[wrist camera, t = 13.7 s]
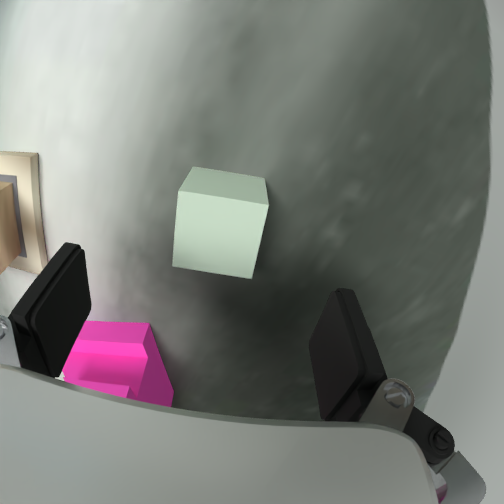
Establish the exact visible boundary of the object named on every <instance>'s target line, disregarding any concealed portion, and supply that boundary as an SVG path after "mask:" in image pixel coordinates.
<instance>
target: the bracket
mask: <svg viewBox="0 0 504 504" xmlns="http://www.w3.org/2000/svg"><path fill="white" fill-rule="evenodd" d="M62 371H63V373H64V376H65V377H63V378H64V380H65V382H68V383H72V384H75V385H78V386H82V387H85V388H89V389H92V390H96V391H100V392H103V393H107V394H111V395H115V396H119V397H124V398H128V399H132V400H137V401H142V402H146V403H151V404H156V405H161V406H167V407H171V405H172V399H173V394H174V390H173V388H172V385H171V383H170V380H169V378H168V375H167V372H166V370H165V367H164V364H163V361H162V359H161V356H160V353H159V350H158V347H157V345H156V342H155V339H154V336H153V333H152V330H151V327H150V324H149V323H128V322H102V321H85V323H84V325H83V327H82V329H81V331H80V333H79V335H78V337H77V339H76V341H75V343H74V345H73V348H72V350H71V352H70V354H69V356H68V358H67V360H66V363H65V365H64V367H63V369H62Z"/></svg>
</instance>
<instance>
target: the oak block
mask: <svg viewBox="0 0 504 504" xmlns="http://www.w3.org/2000/svg"><path fill="white" fill-rule="evenodd" d="M20 253H21V247H20V241H19V235H18V229H17V222H16V214H15V206H14V196H13V185H12V183H11V182H2V181H0V274H1V273H2V272H3V271H4V270H5V269H6V268H7V267H8V266H9V265H10V264H11V262H12V261H13V260H14V259H15V258H16V257H17V256H18V255H19V254H20Z"/></svg>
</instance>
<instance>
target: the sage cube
mask: <svg viewBox="0 0 504 504" xmlns="http://www.w3.org/2000/svg"><path fill="white" fill-rule="evenodd" d="M268 207H269V203H268V197H267V190H266V184H265V178H260V177H254V176H249V175H243V174H237V173H231V172H225V171H219V170H213V169H206V168H199V167H193V168H192V169H191V171H190V172H189V174H188V176H187V177H186V179H185V181H184V182H183V184H182V186H181V187H180V189H179V192H178V202H177V212H176V223H175V235H174V248H173V263H172V266H174V267H180V268H186V269H192V270H198V271H204V272H210V273H217V274H223V275H230V276H236V277H243V278H249V279H252V275H253V271H254V267H255V262H256V258H257V254H258V250H259V245H260V241H261V237H262V232H263V228H264V224H265V220H266V215H267V211H268Z"/></svg>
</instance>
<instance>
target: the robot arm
mask: <svg viewBox="0 0 504 504" xmlns="http://www.w3.org/2000/svg"><path fill="white" fill-rule="evenodd" d="M90 310H91V298H90V291H89V284H88V277H87V269H86V260H85V252H84V250H83V249H81V247H80V245H78V244H73V243H68V242H66V243H64V244H63V246H62V247H61V248H60V249H59V250H58V252H57V253H56V254H55V255H54V256H53V258H52V259H51V260H50V261H49V263H48V264H47V265H46V266H45V268H44V269H43V270H42V271H41V273H40V274H39V275H38V276H37V278H36V279H35V280H34V282H33V283H32V284H31V286H30V287H29V288H28V290H27V291H26V292H25V294H24V295H23V296H22V298H21V299H20V301H19V302H18V303H17V305H16V306H15V308H14V309H13V310H12V312H11V314H10V315H9V317H8V318H7V317H5V316H3V315H0V504H479V503H480V502H481V501H482V499H483V498H484V496H485V494H486V485H485V482H484V480H483V478H482V477H481V476H480V475H479V474H478V473H477V471H476V470H475V469H474V468H473V467H472V466H471V464H470V463H469V462H468V461H467V460H466V459H465V457H464V456H463V455H462V454H461V453H460V452H459V451H457V452H455V451H454V447H455V444H454V439H453V436H452V435H451V433H450V432H449V431H448V430H447V429H446V428H444V427H443V426H441V425H440V424H439V423H437V422H435V421H434V420H433V419H431V418H430V417H428V416H427V415H425V414H424V413H423V412H421V411H420V410H418V409H417V408H416V407H414V403H415V397H414V394H413V391H412V390H411V388H410V387H409V386H408V385H407V384H406V383H404V382H403V381H401V380H398V379H387V376H386V373H385V370H384V367H383V364H382V362H381V359H380V356H379V353H378V350H377V348H376V345H375V342H374V340H373V337H372V334H371V332H370V329H369V327H368V326H367V323H366V321H365V318H364V316H363V313H362V310H361V308H360V305H359V303H358V300H357V298H356V295H355V293H354V291H353V290H351V289H343V288H338V289H337V290H336V291H332V293H331V295H330V297H329V299H328V301H327V304H326V306H325V308H324V310H323V313H322V315H321V317H320V319H319V321H318V323H317V326H316V328H315V330H314V332H313V334H312V336H311V338H310V342H309V350H310V356H311V362H312V367H313V373H314V379H315V385H316V391H317V397H318V403H319V409H320V415H321V418H322V419H323V420H325V421H296V420H275V419H260V418H248V417H238V416H228V415H220V414H212V413H204V412H197V411H191V410H184V409H178V408H172V407H167V406H161V405H156V404H151V403H146V402H142V401H137V400H132V399H128V398H124V397H119V396H115V395H111V394H107V393H103V392H100V391H96V390H92V389H89V388H85V387H82V386H78V385H75V384H72V383H68V382H65V381H61V380H58V379H55V377H59V376H60V374H61V372H62V369H63V367H64V365H65V363H66V360H67V358H68V356H69V354H70V352H71V350H72V348H73V345H74V343H75V341H76V339H77V337H78V335H79V333H80V331H81V329H82V327H83V325H84V323H85V321H86V319H87V317H88V315H89V313H90Z"/></svg>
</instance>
